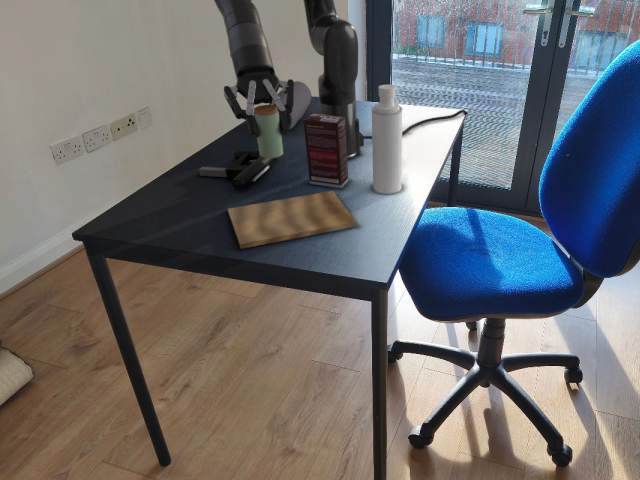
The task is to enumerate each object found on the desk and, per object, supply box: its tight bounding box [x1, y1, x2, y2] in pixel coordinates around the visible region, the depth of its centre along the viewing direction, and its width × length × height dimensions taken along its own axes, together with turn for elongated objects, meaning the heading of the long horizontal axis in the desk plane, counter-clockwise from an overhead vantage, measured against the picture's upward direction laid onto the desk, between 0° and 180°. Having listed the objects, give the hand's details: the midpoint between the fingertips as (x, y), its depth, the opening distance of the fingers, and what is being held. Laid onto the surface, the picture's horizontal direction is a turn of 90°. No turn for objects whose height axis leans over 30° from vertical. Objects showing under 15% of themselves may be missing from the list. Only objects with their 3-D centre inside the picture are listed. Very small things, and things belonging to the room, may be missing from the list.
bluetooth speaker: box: [267, 80, 312, 131], centre depth 165 cm, size 23×9×10 cm, turn 172°
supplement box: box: [303, 112, 349, 189], centre depth 130 cm, size 9×5×16 cm, turn 71°
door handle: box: [198, 149, 278, 191], centre depth 139 cm, size 3×20×16 cm
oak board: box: [227, 190, 357, 250], centre depth 119 cm, size 24×16×1 cm, turn 111°
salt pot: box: [253, 104, 285, 158], centre depth 109 cm, size 5×5×9 cm
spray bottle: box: [371, 84, 403, 195], centre depth 124 cm, size 7×7×25 cm
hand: (270, 133), depth 107 cm, fingers closed on salt pot, 5 cm apart
